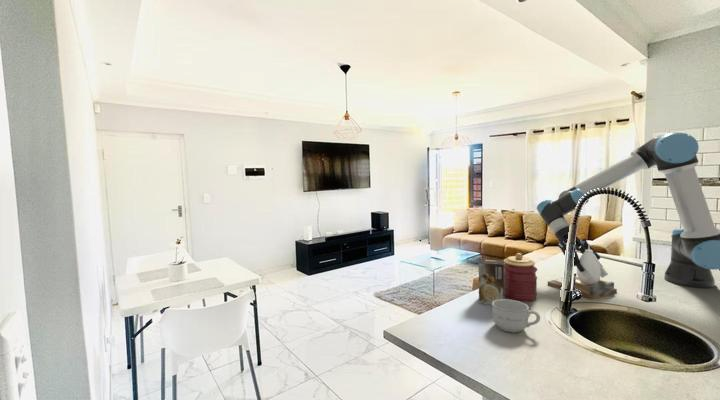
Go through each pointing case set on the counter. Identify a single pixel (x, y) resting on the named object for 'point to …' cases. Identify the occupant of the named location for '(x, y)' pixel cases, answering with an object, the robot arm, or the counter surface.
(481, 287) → the coffee box
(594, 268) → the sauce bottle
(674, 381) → the counter surface
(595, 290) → the guide board
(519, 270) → the canister
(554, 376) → the counter surface
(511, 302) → the teacup
